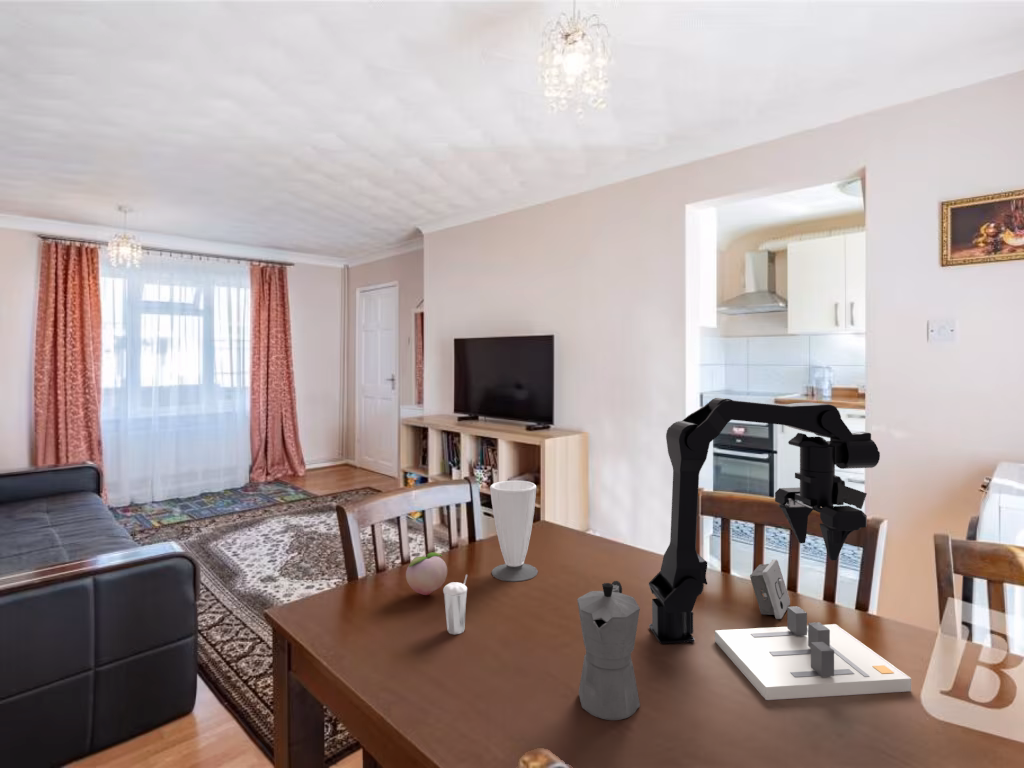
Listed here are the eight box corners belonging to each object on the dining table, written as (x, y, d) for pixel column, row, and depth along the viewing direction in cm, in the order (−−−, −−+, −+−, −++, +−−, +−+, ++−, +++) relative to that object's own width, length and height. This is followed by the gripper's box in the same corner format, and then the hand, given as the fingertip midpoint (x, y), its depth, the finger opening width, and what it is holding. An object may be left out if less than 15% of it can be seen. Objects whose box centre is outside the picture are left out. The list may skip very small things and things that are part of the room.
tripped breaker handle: (821, 676, 81) (821, 651, 81) (810, 667, 83) (810, 642, 83) (834, 676, 81) (834, 650, 81) (822, 666, 83) (822, 641, 83)
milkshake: (475, 628, 102) (474, 577, 102) (454, 639, 98) (453, 586, 98) (460, 620, 105) (459, 571, 105) (439, 631, 101) (438, 579, 101)
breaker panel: (766, 700, 79) (766, 686, 79) (714, 641, 96) (714, 629, 96) (911, 691, 81) (911, 677, 80) (835, 634, 98) (835, 623, 97)
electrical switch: (780, 621, 103) (775, 573, 103) (752, 616, 106) (748, 570, 106) (791, 604, 110) (786, 559, 110) (764, 600, 113) (760, 556, 114)
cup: (538, 581, 124) (537, 490, 123) (490, 582, 124) (488, 491, 123) (537, 563, 135) (535, 479, 135) (492, 563, 135) (490, 480, 135)
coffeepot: (633, 737, 72) (632, 607, 71) (566, 721, 75) (565, 597, 74) (647, 675, 86) (647, 566, 85) (591, 663, 89) (590, 559, 89)
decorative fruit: (428, 608, 111) (427, 561, 111) (400, 599, 115) (399, 554, 115) (456, 591, 119) (455, 547, 119) (428, 584, 123) (427, 541, 123)
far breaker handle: (796, 635, 93) (796, 613, 93) (787, 628, 96) (787, 606, 95) (807, 635, 93) (807, 612, 93) (798, 627, 96) (798, 606, 96)
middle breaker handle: (818, 654, 87) (818, 630, 87) (808, 645, 90) (808, 622, 89) (829, 653, 87) (829, 629, 87) (819, 645, 90) (819, 622, 90)
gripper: (897, 478, 91) (896, 568, 91) (825, 459, 109) (825, 534, 110) (834, 480, 90) (834, 571, 90) (773, 461, 108) (773, 536, 109)
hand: (816, 551), depth 100 cm, fingers open, 9 cm apart
